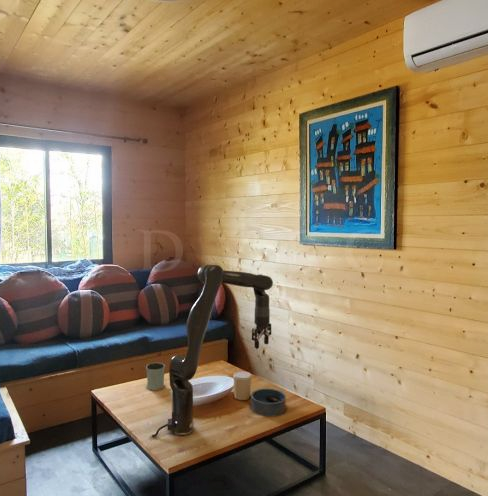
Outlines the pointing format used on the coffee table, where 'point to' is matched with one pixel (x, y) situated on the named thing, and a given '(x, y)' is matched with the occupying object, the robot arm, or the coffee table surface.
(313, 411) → the coffee table surface
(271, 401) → the stick
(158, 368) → the green cylindrical pot
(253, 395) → the bowl
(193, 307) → the robot arm
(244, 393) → the coffee cup
